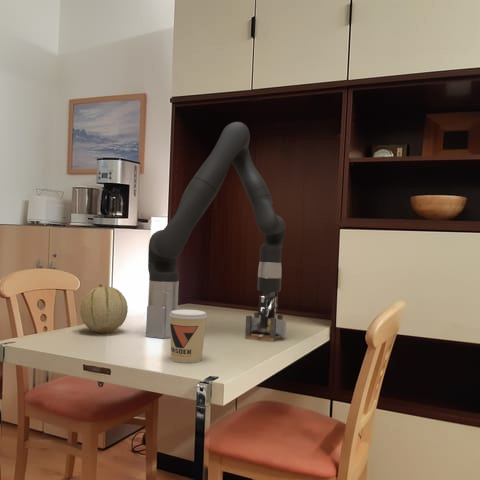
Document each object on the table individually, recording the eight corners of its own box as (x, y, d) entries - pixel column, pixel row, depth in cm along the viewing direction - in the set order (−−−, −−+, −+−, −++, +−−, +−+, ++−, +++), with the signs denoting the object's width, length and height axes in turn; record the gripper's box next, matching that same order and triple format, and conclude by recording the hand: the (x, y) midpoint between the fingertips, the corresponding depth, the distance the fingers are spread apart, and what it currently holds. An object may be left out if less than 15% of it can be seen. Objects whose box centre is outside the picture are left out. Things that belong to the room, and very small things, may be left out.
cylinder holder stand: (273, 342, 151) (274, 318, 151) (245, 338, 154) (246, 316, 154) (282, 336, 160) (283, 314, 160) (254, 333, 164) (255, 312, 164)
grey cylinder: (248, 334, 156) (249, 318, 156) (253, 331, 161) (253, 315, 161) (281, 337, 153) (282, 321, 153) (285, 334, 157) (286, 318, 157)
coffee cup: (160, 360, 121) (163, 312, 121) (178, 353, 130) (180, 308, 130) (194, 365, 118) (197, 315, 118) (210, 357, 126) (212, 311, 127)
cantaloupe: (103, 338, 144) (105, 288, 144) (68, 332, 151) (70, 284, 151) (136, 332, 157) (138, 285, 157) (103, 326, 164) (105, 282, 164)
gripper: (264, 274, 165) (262, 322, 165) (251, 276, 151) (249, 328, 151) (286, 275, 162) (284, 324, 162) (275, 278, 149) (272, 331, 149)
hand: (267, 326), depth 157 cm, fingers open, 8 cm apart
